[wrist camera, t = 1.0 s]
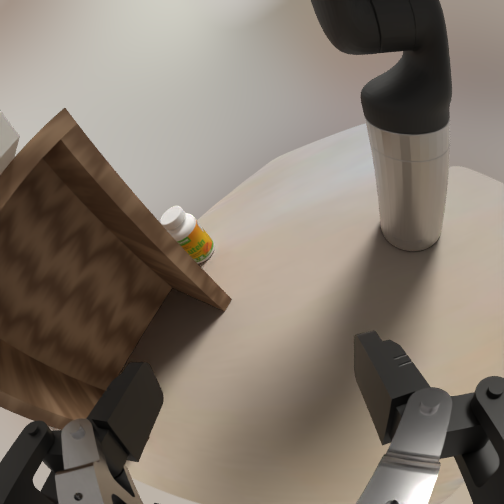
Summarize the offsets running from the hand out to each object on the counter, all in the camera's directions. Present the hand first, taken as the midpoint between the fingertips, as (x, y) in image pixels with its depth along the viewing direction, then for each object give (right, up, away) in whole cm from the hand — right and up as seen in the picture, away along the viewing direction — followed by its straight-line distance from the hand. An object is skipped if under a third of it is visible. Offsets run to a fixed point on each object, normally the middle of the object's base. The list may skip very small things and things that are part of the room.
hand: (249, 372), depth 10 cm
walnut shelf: (-14, -11, +28) cm, 34 cm away
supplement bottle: (-8, +4, +38) cm, 40 cm away
